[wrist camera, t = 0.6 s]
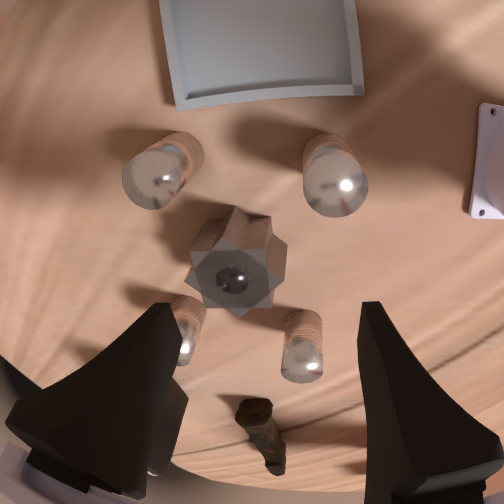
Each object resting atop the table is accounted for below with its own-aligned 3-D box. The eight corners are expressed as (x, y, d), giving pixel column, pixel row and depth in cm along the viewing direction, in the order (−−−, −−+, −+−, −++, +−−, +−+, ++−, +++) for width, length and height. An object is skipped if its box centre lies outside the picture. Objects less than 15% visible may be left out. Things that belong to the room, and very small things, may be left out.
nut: (283, 202, 20) (279, 233, 17) (290, 280, 24) (287, 318, 20) (191, 208, 21) (171, 238, 18) (209, 281, 25) (195, 317, 21)
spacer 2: (202, 296, 26) (184, 342, 21) (209, 322, 27) (195, 367, 23) (168, 295, 26) (147, 339, 22) (178, 321, 28) (160, 364, 24)
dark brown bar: (238, 395, 34) (230, 430, 30) (273, 395, 33) (268, 432, 29) (265, 453, 44) (261, 478, 40) (290, 453, 43) (287, 479, 39)
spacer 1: (199, 128, 18) (168, 150, 14) (207, 173, 20) (181, 207, 16) (155, 135, 19) (115, 159, 15) (164, 178, 20) (130, 211, 16)
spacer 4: (351, 132, 17) (368, 155, 13) (352, 180, 19) (367, 216, 14) (300, 134, 18) (301, 157, 13) (304, 181, 19) (305, 218, 15)
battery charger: (136, 363, 33) (99, 448, 24) (163, 363, 32) (127, 455, 22) (165, 397, 36) (138, 475, 27) (191, 398, 35) (166, 481, 26)
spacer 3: (322, 309, 25) (323, 359, 20) (321, 334, 26) (322, 383, 22) (284, 310, 25) (279, 359, 21) (286, 335, 27) (282, 383, 23)
